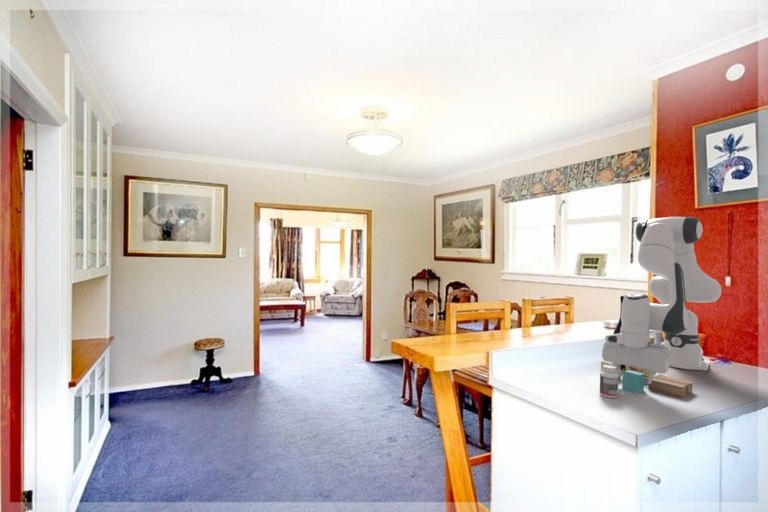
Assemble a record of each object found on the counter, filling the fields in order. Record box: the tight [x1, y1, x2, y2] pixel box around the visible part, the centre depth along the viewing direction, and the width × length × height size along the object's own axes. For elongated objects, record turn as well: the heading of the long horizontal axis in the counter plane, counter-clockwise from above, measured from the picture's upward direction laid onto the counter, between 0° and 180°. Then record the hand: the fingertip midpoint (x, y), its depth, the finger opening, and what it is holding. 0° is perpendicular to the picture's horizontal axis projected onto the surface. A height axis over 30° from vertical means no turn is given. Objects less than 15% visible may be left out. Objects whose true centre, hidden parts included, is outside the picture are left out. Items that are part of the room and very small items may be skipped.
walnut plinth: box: [647, 374, 693, 399], centre depth 140 cm, size 10×10×4 cm
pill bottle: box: [599, 365, 620, 399], centre depth 134 cm, size 5×5×10 cm
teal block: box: [621, 370, 645, 394], centre depth 141 cm, size 5×5×6 cm
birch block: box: [600, 360, 621, 379], centre depth 154 cm, size 5×5×6 cm
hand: (632, 379), depth 141 cm, fingers open, 8 cm apart
